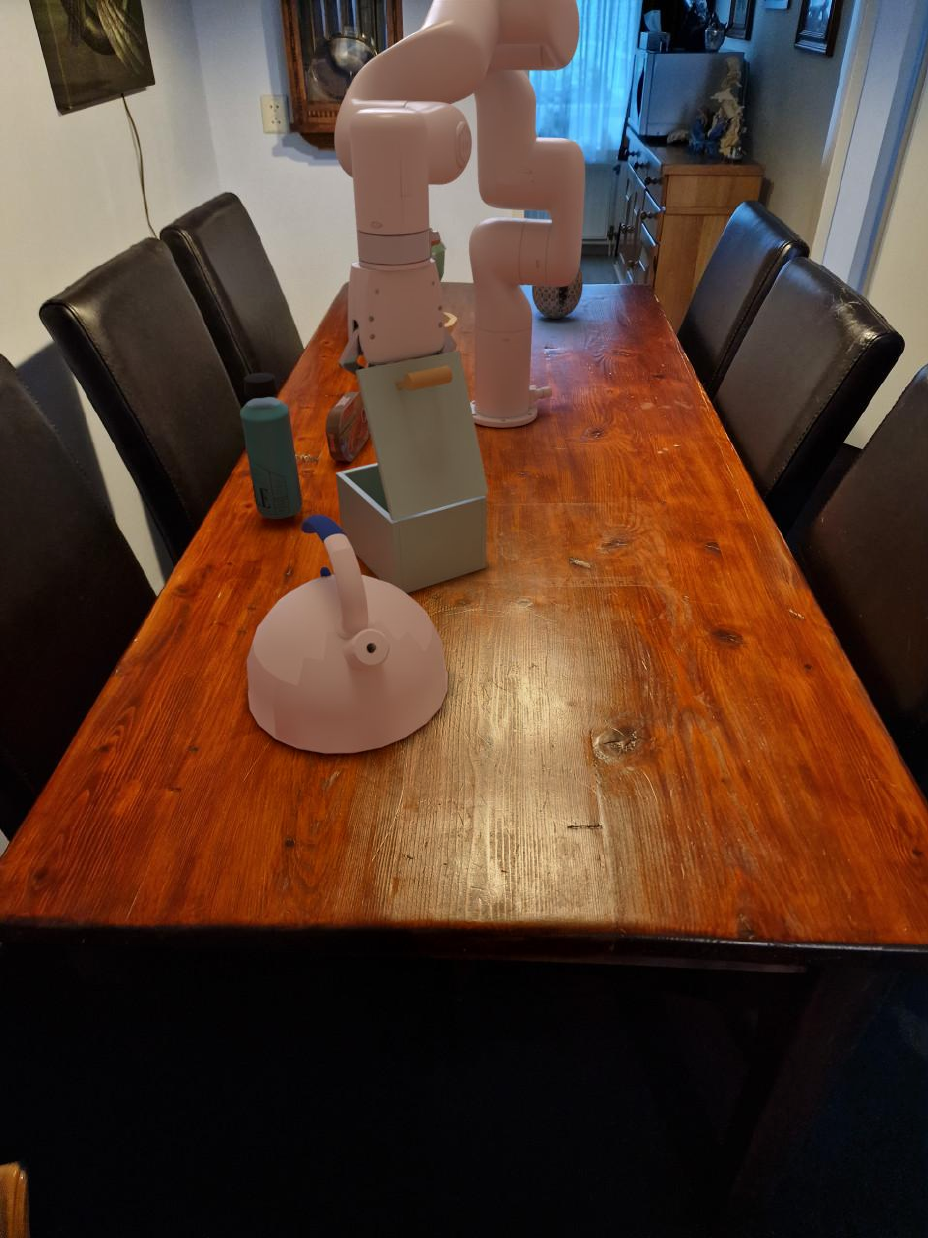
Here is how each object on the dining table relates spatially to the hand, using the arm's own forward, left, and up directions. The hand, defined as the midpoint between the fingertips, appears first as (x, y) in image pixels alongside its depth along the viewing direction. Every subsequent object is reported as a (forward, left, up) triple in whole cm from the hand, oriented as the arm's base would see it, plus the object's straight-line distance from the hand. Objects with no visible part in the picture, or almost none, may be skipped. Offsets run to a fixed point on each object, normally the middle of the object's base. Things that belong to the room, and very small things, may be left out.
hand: (402, 414), depth 95 cm
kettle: (+18, +21, -18) cm, 33 cm away
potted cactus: (-39, -68, -18) cm, 80 cm away
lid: (0, +5, -1) cm, 5 cm away
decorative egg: (-81, -78, -18) cm, 114 cm away
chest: (0, +1, -18) cm, 18 cm away
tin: (-7, -33, -18) cm, 38 cm away
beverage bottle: (+11, -17, -18) cm, 27 cm away
